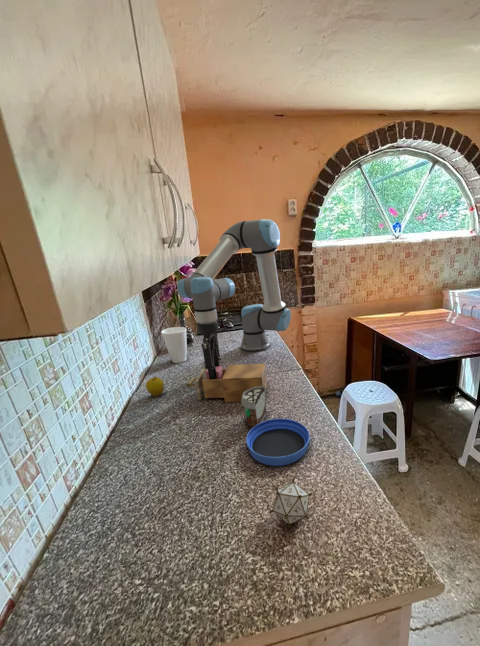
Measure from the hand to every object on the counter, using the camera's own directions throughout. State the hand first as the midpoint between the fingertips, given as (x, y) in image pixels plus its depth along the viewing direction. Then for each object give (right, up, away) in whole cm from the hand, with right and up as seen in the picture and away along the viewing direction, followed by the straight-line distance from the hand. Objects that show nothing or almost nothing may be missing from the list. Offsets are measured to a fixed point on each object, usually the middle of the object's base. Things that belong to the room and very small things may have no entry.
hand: (215, 379), depth 119 cm
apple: (-24, -7, +4) cm, 25 cm away
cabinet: (+12, -5, +2) cm, 13 cm away
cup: (-27, +6, +39) cm, 48 cm away
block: (0, 0, 0) cm, 0 cm away
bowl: (+25, -17, -30) cm, 42 cm away
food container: (+16, -12, -16) cm, 26 cm away
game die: (+29, -25, -52) cm, 65 cm away
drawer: (-1, -5, +2) cm, 5 cm away
